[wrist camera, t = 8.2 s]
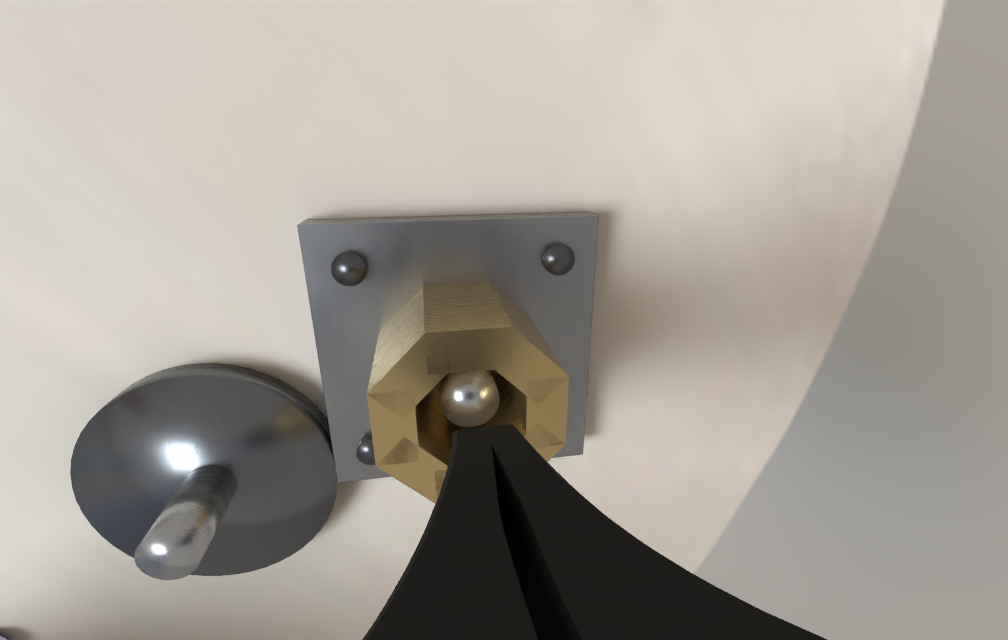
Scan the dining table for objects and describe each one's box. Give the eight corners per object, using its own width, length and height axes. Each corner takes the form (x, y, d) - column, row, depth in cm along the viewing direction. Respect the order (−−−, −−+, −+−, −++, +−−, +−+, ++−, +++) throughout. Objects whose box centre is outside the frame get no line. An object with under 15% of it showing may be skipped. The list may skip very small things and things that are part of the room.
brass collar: (531, 413, 17) (563, 488, 13) (389, 427, 16) (381, 511, 12) (533, 279, 15) (571, 322, 11) (373, 287, 14) (359, 337, 11)
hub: (574, 439, 19) (613, 510, 15) (342, 464, 17) (322, 550, 14) (587, 211, 16) (640, 232, 12) (304, 220, 14) (266, 245, 11)
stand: (353, 537, 19) (337, 634, 15) (129, 567, 17) (51, 682, 14) (325, 354, 16) (297, 418, 12) (56, 374, 15) (-67, 452, 11)
